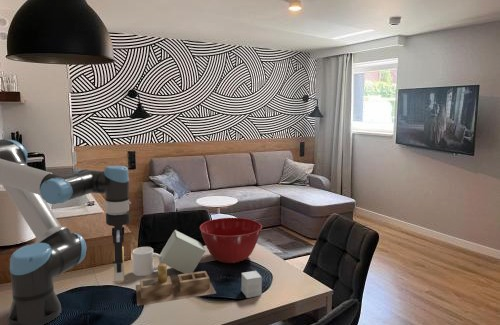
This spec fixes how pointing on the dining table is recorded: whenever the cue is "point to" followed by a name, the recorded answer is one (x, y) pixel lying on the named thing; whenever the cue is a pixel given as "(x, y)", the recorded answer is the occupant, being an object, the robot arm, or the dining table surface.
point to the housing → (182, 252)
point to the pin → (123, 265)
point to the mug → (144, 261)
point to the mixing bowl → (230, 238)
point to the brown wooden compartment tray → (173, 287)
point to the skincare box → (251, 284)
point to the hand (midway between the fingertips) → (119, 277)
